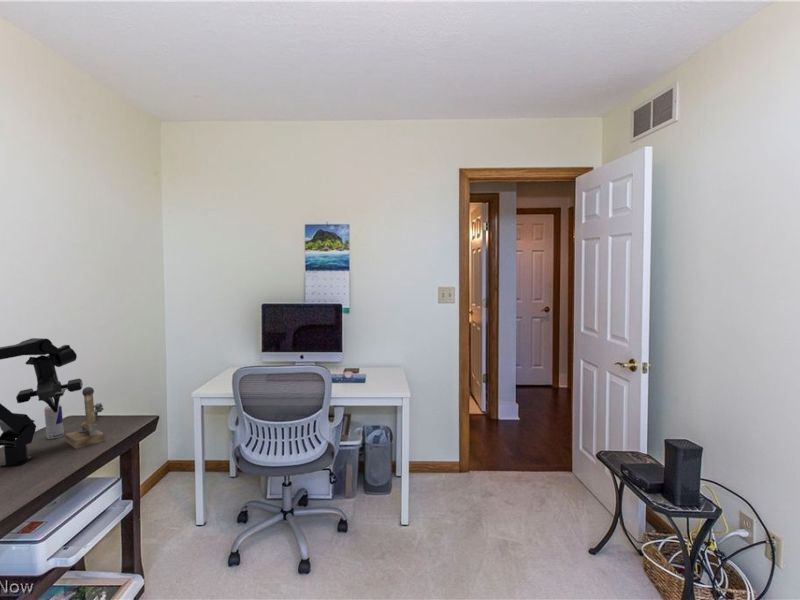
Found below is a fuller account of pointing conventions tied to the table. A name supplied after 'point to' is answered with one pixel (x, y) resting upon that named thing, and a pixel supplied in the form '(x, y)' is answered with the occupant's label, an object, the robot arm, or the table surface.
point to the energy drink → (54, 423)
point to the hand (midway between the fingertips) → (56, 412)
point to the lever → (89, 406)
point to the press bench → (84, 436)
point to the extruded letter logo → (97, 410)
